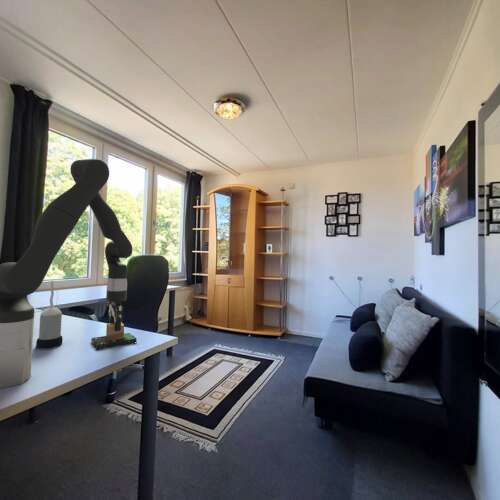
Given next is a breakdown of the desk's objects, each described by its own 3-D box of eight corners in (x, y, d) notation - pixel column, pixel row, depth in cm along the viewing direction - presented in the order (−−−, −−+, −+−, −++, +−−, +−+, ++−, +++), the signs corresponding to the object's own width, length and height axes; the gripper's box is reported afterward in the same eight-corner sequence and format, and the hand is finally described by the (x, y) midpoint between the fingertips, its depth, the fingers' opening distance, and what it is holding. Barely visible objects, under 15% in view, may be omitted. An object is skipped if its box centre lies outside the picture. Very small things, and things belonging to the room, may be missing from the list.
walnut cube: (123, 338, 108) (124, 325, 108) (108, 340, 105) (109, 326, 105) (120, 334, 113) (121, 322, 113) (106, 337, 109) (106, 323, 109)
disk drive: (96, 352, 100) (137, 344, 109) (96, 345, 100) (137, 337, 110) (90, 344, 107) (129, 338, 117) (90, 337, 107) (129, 331, 117)
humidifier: (40, 342, 105) (44, 279, 105) (65, 341, 108) (68, 279, 108) (32, 350, 97) (36, 282, 98) (58, 348, 100) (62, 282, 101)
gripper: (131, 290, 106) (129, 331, 106) (122, 286, 117) (120, 323, 117) (110, 291, 101) (108, 334, 101) (103, 287, 112) (101, 325, 112)
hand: (114, 328), depth 109 cm, fingers open, 8 cm apart
